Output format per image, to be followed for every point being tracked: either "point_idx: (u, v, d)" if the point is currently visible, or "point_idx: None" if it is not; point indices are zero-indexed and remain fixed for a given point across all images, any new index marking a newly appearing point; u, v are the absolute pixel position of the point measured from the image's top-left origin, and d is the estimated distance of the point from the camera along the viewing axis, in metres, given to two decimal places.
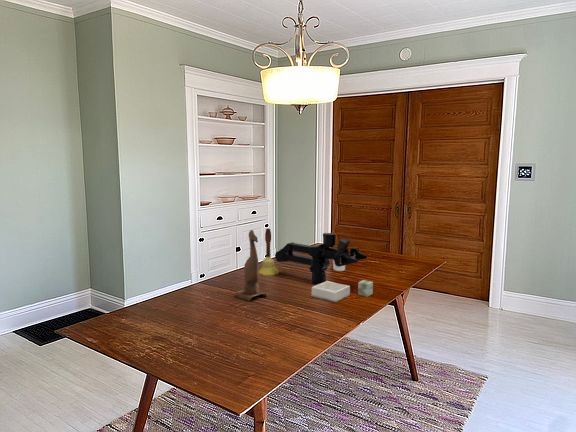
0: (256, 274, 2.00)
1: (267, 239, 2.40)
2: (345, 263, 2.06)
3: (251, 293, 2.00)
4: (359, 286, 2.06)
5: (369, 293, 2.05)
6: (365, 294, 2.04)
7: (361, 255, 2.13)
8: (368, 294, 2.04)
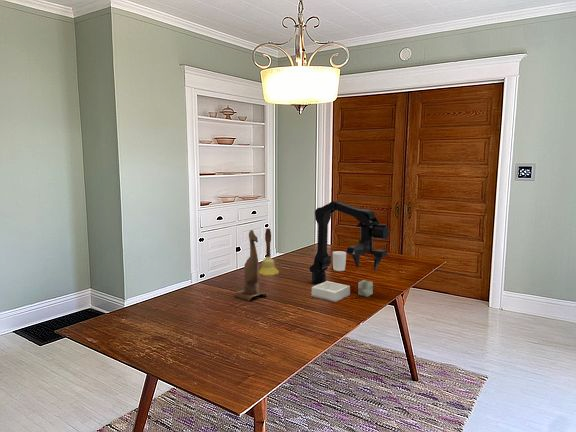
0: (256, 274, 2.00)
1: (267, 239, 2.40)
2: None
3: (251, 293, 2.00)
4: (359, 286, 2.06)
5: (369, 293, 2.05)
6: (365, 294, 2.04)
7: None
8: (368, 294, 2.04)
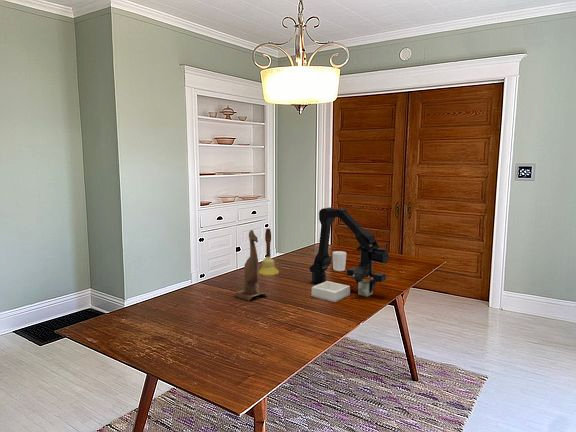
0: (256, 274, 2.00)
1: (267, 239, 2.40)
2: None
3: (251, 293, 2.00)
4: (359, 286, 2.06)
5: (369, 293, 2.05)
6: (365, 294, 2.04)
7: None
8: (368, 294, 2.04)
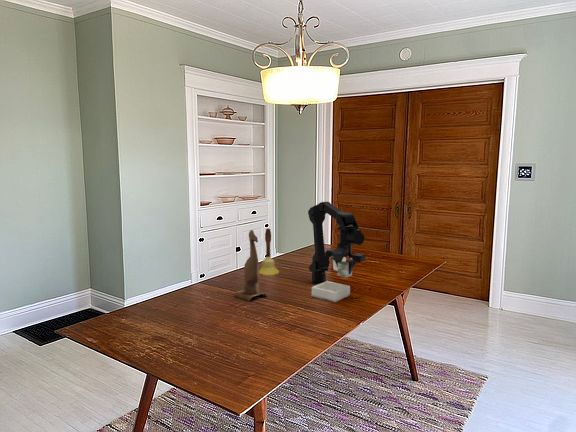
0: (256, 274, 2.00)
1: (267, 239, 2.40)
2: None
3: (251, 293, 2.00)
4: (338, 267, 2.03)
5: (348, 274, 2.02)
6: (344, 275, 2.01)
7: None
8: (347, 275, 2.02)
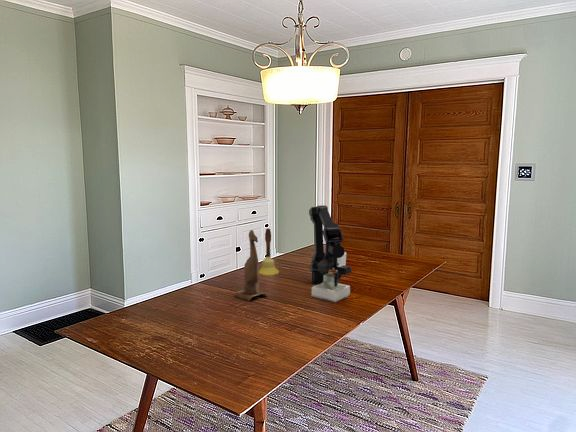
0: (256, 274, 2.00)
1: (267, 239, 2.40)
2: None
3: (251, 293, 2.00)
4: (324, 279, 2.03)
5: (334, 286, 2.02)
6: (330, 287, 2.01)
7: None
8: (333, 287, 2.01)
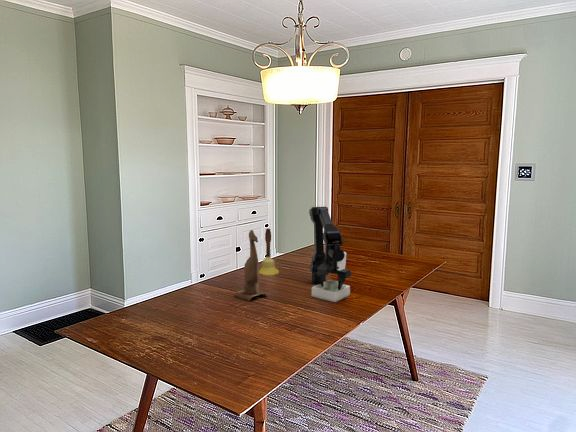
0: (256, 274, 2.00)
1: (267, 239, 2.40)
2: None
3: (251, 293, 2.00)
4: (324, 286, 2.03)
5: None
6: None
7: None
8: None
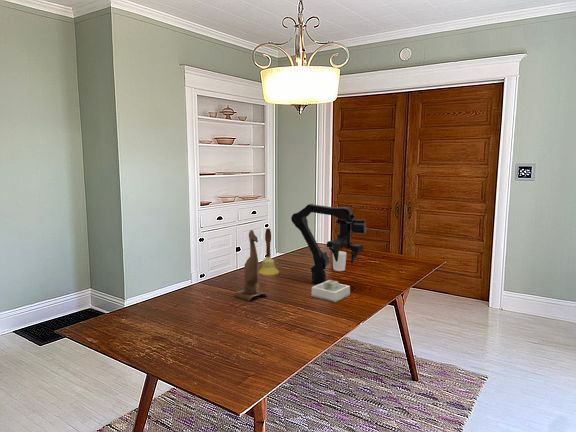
0: (256, 274, 2.00)
1: (267, 239, 2.40)
2: None
3: (251, 293, 2.00)
4: (324, 286, 2.03)
5: None
6: None
7: None
8: None
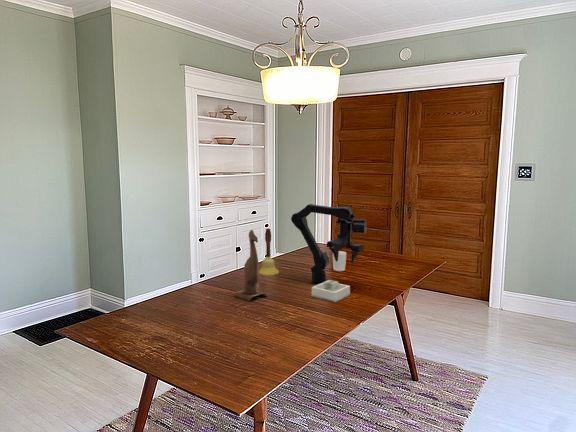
0: (256, 274, 2.00)
1: (267, 239, 2.40)
2: None
3: (251, 293, 2.00)
4: (324, 286, 2.03)
5: None
6: None
7: None
8: None
